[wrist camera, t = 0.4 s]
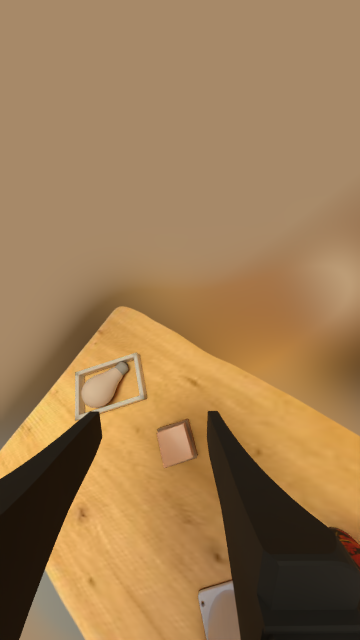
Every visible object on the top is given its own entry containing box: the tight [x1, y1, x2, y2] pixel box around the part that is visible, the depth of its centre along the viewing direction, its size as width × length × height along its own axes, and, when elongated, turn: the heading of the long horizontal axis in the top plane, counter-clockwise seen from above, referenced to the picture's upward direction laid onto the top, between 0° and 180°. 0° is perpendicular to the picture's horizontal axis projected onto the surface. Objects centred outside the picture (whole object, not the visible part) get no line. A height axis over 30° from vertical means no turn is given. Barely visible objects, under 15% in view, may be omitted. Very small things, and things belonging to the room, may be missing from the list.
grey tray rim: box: [75, 353, 147, 421], centre depth 38 cm, size 10×15×2 cm
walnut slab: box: [157, 419, 198, 468], centre depth 32 cm, size 6×6×2 cm
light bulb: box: [81, 362, 129, 408], centre depth 37 cm, size 7×7×11 cm
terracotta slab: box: [157, 422, 194, 468], centre depth 30 cm, size 5×5×2 cm
